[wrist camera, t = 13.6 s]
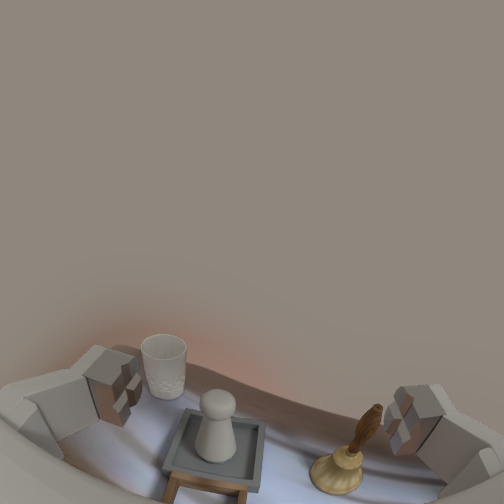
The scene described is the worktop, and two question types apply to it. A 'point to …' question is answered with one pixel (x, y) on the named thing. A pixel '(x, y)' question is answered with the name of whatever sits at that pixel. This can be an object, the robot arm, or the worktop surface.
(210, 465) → the tray
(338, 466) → the hand bell
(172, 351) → the white cup
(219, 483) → the collar
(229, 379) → the worktop surface
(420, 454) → the robot arm
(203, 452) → the salt shaker
